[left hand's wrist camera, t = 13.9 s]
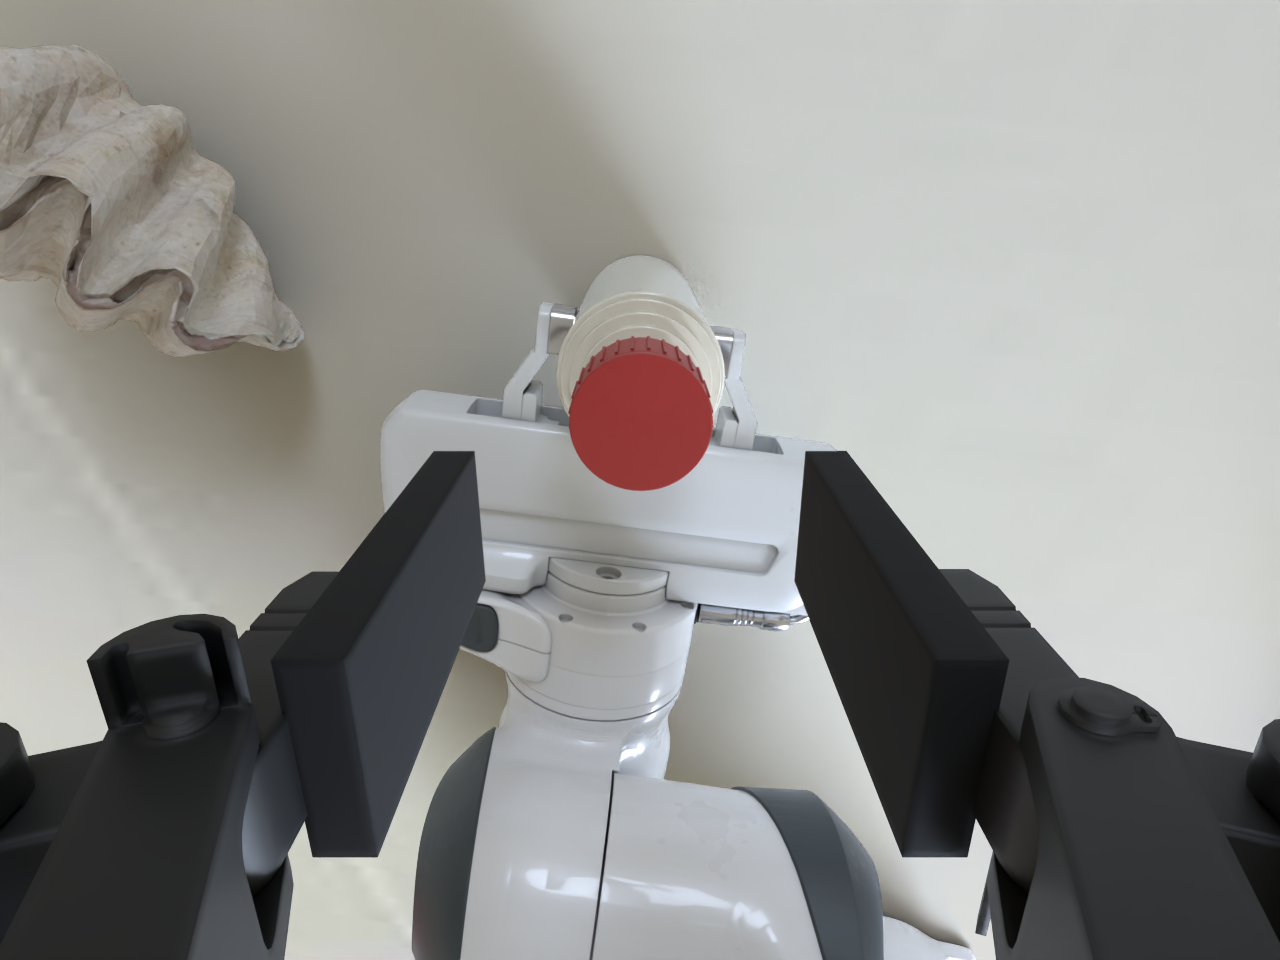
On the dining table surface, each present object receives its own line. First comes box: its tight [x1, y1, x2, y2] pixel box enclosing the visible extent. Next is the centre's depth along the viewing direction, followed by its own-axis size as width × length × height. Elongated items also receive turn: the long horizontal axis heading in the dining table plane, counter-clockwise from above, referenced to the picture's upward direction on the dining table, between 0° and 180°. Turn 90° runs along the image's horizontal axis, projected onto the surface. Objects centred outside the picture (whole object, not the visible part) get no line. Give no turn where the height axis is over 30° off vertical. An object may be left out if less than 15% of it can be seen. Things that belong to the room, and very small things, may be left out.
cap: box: [568, 336, 714, 491], centre depth 21 cm, size 4×4×2 cm
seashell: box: [0, 44, 304, 358], centre depth 31 cm, size 10×15×10 cm
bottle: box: [557, 255, 725, 417], centre depth 29 cm, size 6×6×18 cm
